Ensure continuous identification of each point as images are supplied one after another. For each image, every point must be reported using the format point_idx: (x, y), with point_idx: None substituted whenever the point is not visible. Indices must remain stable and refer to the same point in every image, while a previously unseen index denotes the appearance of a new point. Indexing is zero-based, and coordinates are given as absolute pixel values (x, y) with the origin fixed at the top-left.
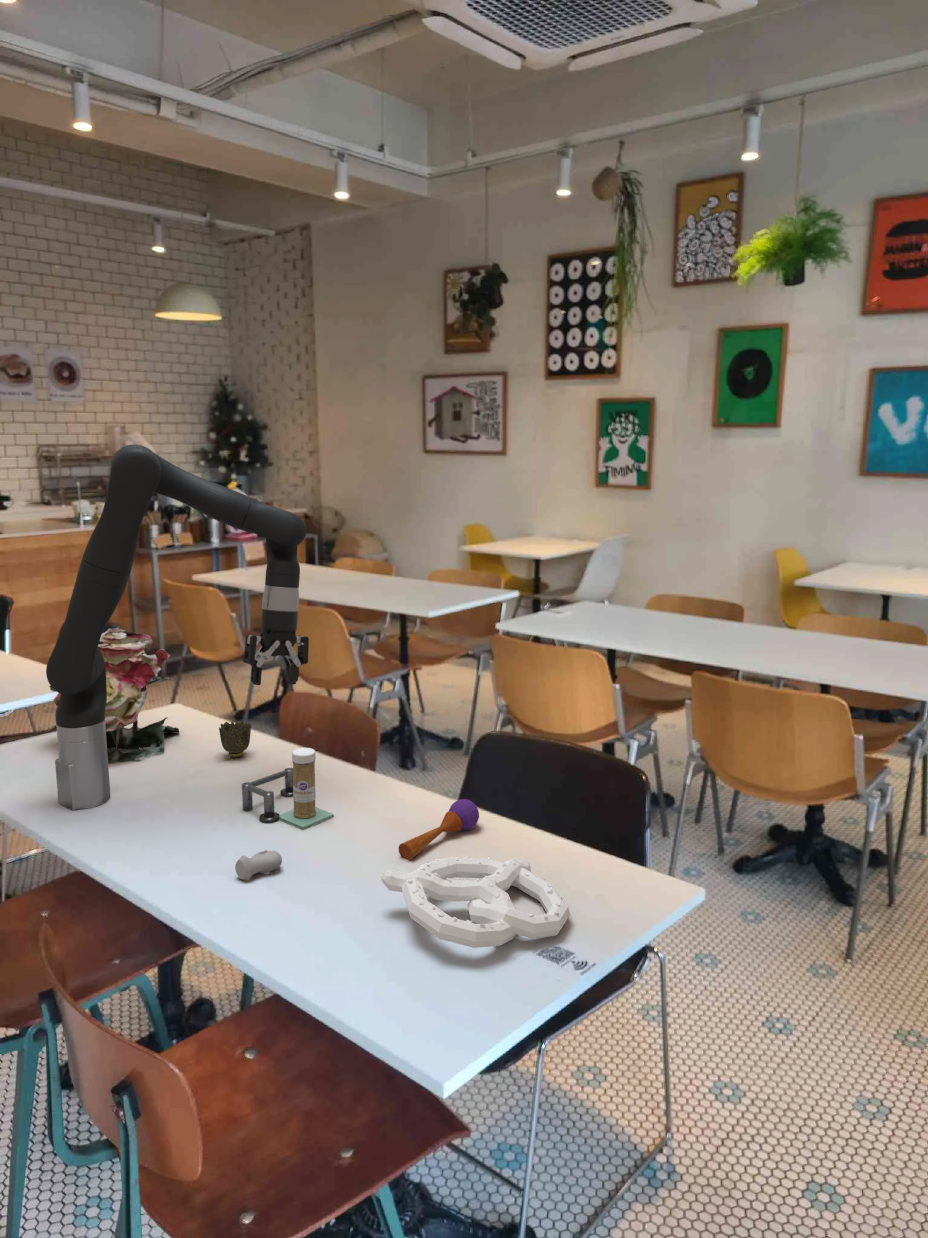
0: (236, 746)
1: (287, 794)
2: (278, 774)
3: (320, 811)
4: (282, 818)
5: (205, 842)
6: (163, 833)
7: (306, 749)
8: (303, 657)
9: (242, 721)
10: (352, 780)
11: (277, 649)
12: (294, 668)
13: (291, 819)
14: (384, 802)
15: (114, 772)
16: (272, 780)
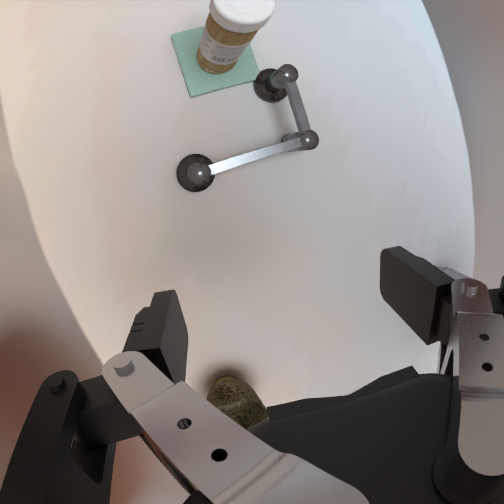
0: (237, 382)
1: (206, 158)
2: (233, 157)
3: (185, 54)
4: (256, 64)
5: (370, 76)
6: (403, 138)
7: (233, 3)
8: (68, 408)
9: None
10: (63, 183)
11: (404, 428)
12: (160, 343)
13: (245, 52)
14: (65, 58)
15: (379, 371)
16: (247, 152)
